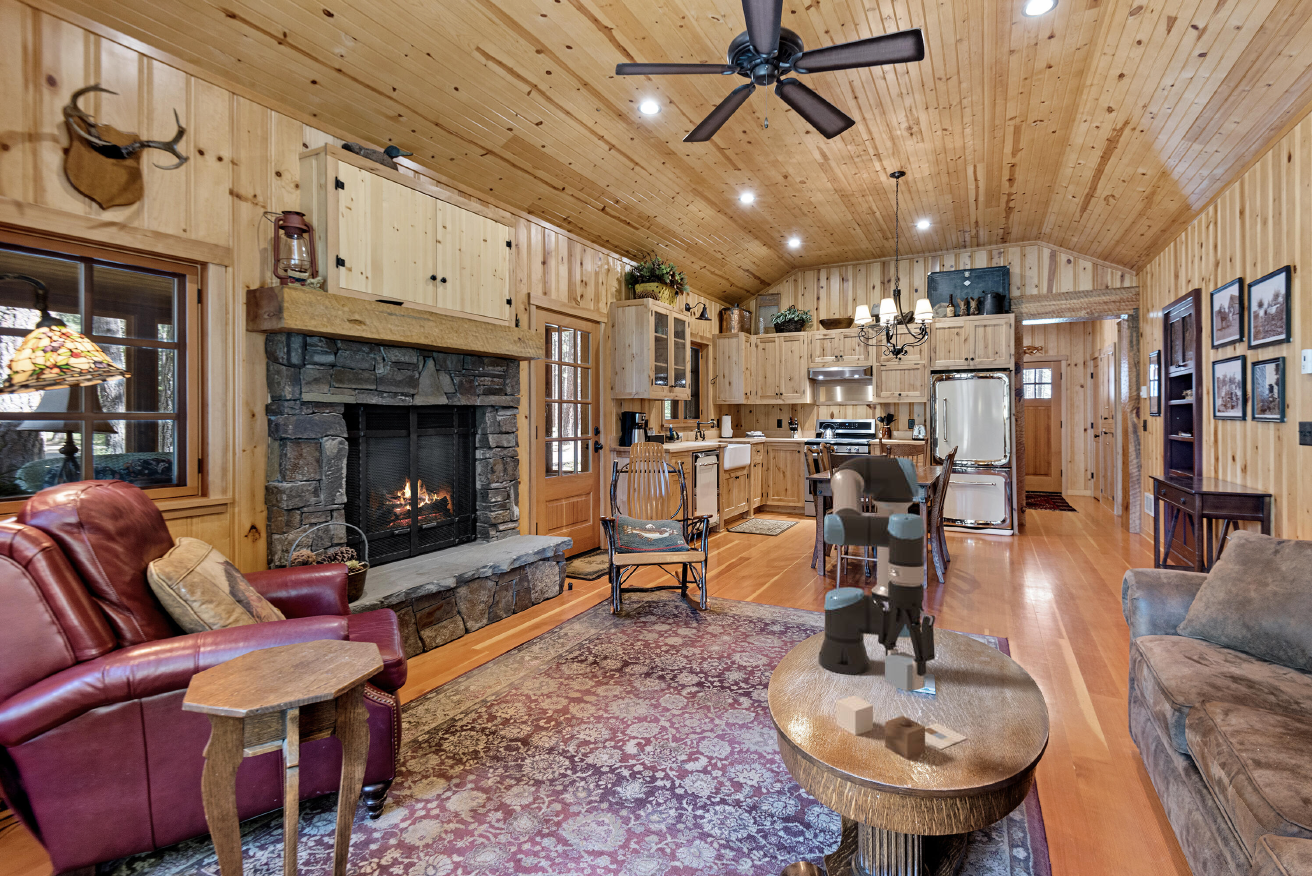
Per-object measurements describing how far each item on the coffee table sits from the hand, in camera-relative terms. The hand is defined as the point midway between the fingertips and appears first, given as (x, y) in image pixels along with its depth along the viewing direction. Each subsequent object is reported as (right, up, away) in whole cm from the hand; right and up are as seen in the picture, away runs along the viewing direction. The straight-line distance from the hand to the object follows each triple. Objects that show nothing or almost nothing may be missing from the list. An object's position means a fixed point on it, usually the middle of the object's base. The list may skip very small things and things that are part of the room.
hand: (904, 682), depth 136 cm
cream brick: (-8, -15, +11) cm, 20 cm away
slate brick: (0, 0, 0) cm, 0 cm away
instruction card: (+11, -15, +6) cm, 19 cm away
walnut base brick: (0, -16, 0) cm, 16 cm away
